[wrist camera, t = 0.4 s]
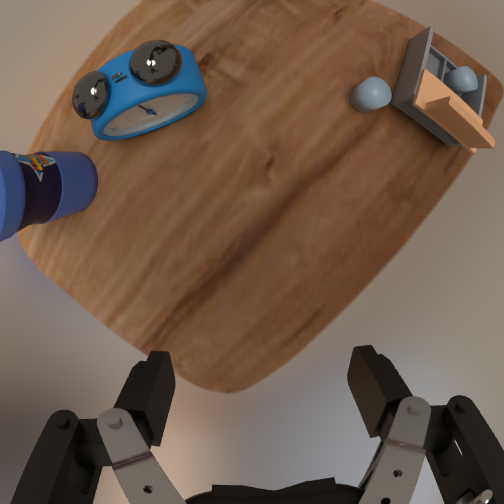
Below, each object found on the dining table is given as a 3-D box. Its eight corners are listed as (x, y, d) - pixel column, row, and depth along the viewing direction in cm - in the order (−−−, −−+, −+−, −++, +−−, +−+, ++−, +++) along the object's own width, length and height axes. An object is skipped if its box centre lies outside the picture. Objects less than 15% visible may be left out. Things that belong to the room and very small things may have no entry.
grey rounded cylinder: (442, 68, 29) (460, 61, 24) (458, 78, 29) (477, 72, 24) (442, 89, 30) (461, 83, 25) (459, 98, 30) (478, 94, 26)
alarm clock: (124, 145, 33) (61, 136, 19) (114, 107, 32) (51, 83, 17) (214, 108, 32) (194, 69, 18) (200, 69, 31) (176, 16, 16)
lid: (421, 70, 25) (447, 58, 19) (479, 120, 26) (506, 118, 21) (411, 104, 26) (439, 96, 21) (471, 153, 28) (499, 155, 22)
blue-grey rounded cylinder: (350, 83, 32) (364, 72, 27) (375, 91, 32) (391, 82, 27) (348, 108, 33) (362, 100, 28) (374, 116, 33) (390, 110, 28)
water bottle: (86, 223, 36) (-44, 286, 12) (45, 198, 35) (-79, 236, 11) (108, 165, 34) (-37, 176, 10) (64, 143, 32) (-70, 142, 8)
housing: (409, 39, 29) (430, 26, 22) (463, 82, 30) (486, 76, 24) (389, 103, 32) (413, 94, 26) (448, 146, 34) (474, 145, 27)
